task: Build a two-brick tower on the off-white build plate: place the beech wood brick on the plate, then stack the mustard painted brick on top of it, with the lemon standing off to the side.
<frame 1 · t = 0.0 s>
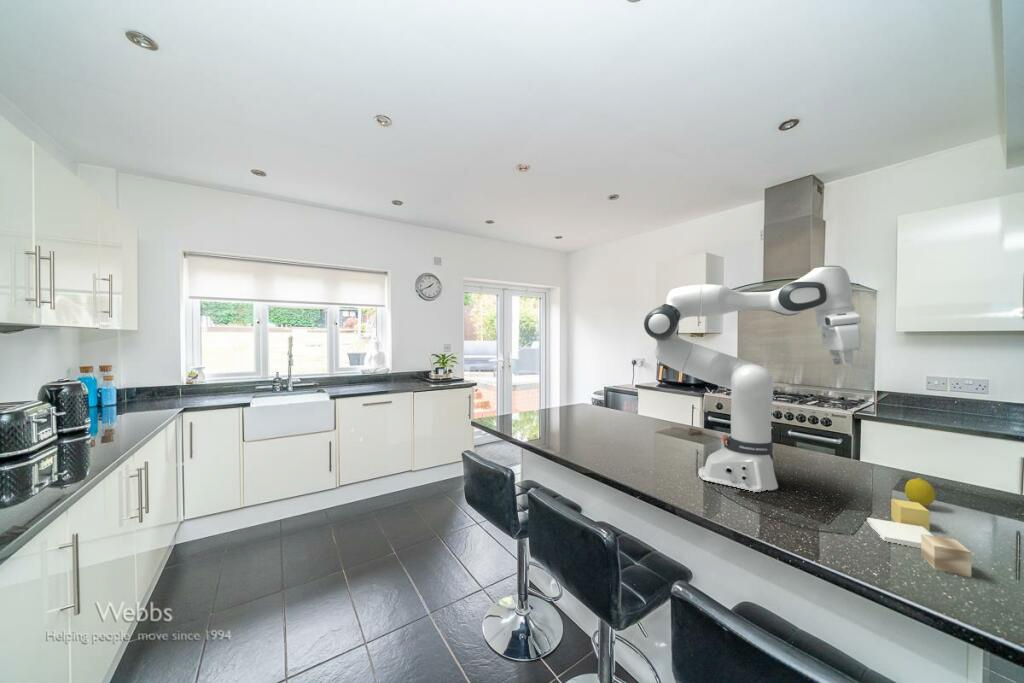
hand: (842, 365, 107), 39 cm above the worktop, tool pointing down, fingers open, 8 cm apart
beech brick: (945, 566, 73), on the worktop
mustard brick: (909, 524, 90), on the worktop
lemon: (919, 507, 99), on the worktop
build plate: (904, 536, 85), on the worktop
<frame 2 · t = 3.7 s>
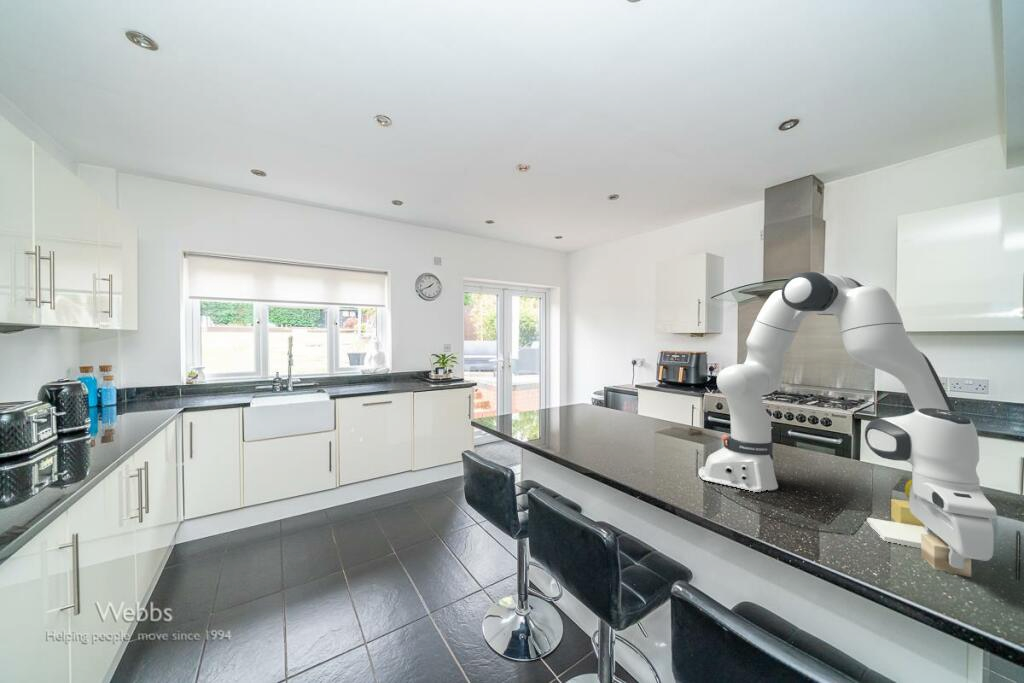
hand: (945, 557, 73), 2 cm above the worktop, tool pointing down, fingers closed on beech brick, 5 cm apart
beech brick: (945, 566, 73), on the worktop, touching gripper
everything else where it was.
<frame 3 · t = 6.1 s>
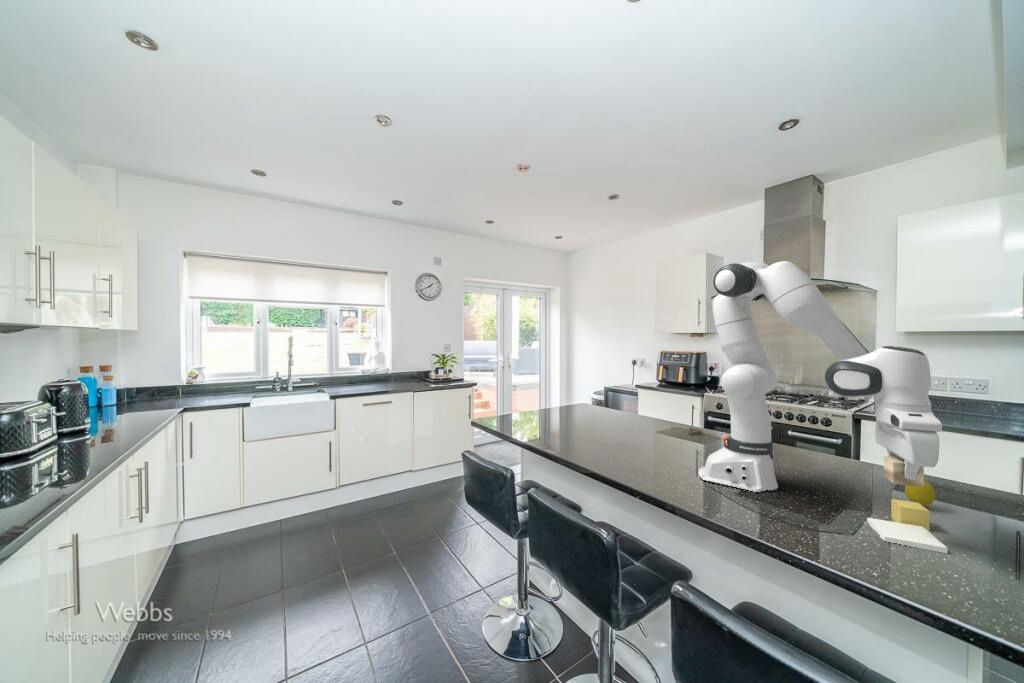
hand: (902, 473, 85), 15 cm above the worktop, tool pointing down, fingers closed on beech brick, 5 cm apart
beech brick: (903, 481, 85), point 13 cm above the worktop, touching gripper
everything else where it was.
when the fingers open (4 cm above the worktop, at t = 8.5 s): beech brick stays where it is, resting on build plate.
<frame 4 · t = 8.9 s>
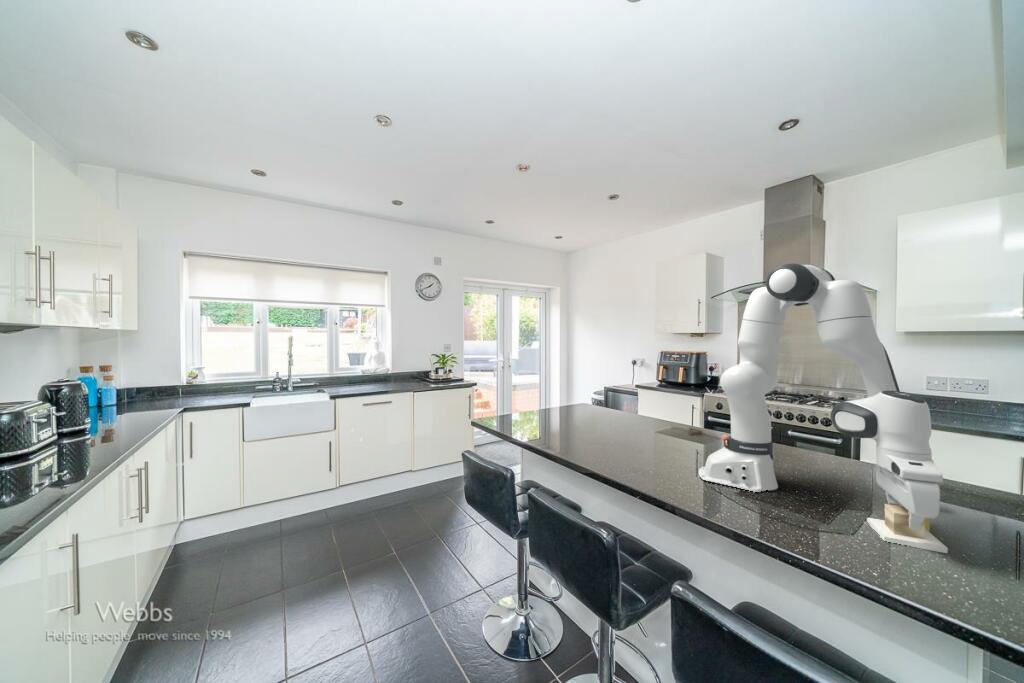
hand: (903, 519, 85), 4 cm above the worktop, tool pointing down, fingers open, 8 cm apart
beech brick: (904, 531, 85), point 1 cm above the worktop, touching build plate
everything else where it was.
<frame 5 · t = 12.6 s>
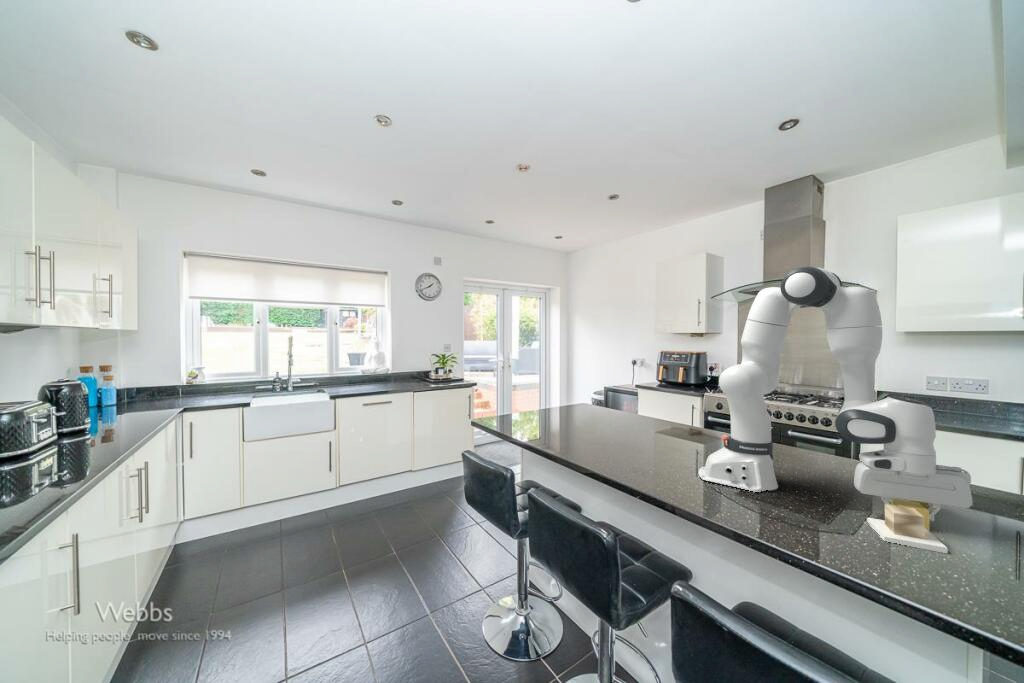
hand: (909, 516, 90), 2 cm above the worktop, tool pointing down, fingers closed on mustard brick, 5 cm apart
mustard brick: (909, 524, 90), on the worktop, touching gripper
everything else where it was.
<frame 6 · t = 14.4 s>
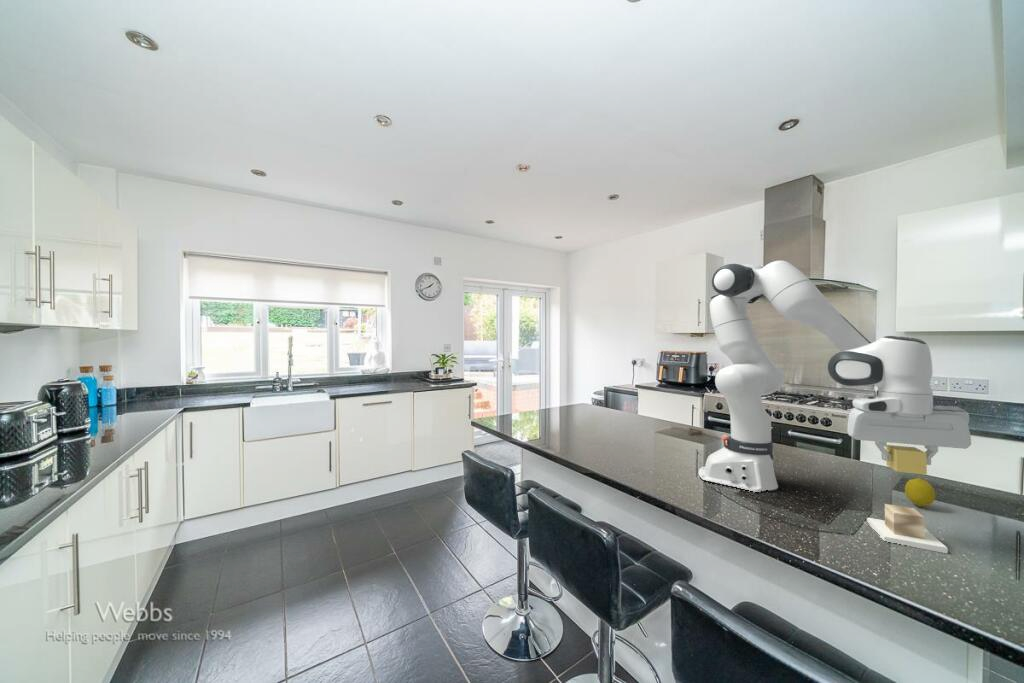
hand: (905, 462, 85), 17 cm above the worktop, tool pointing down, fingers closed on mustard brick, 5 cm apart
mustard brick: (905, 469, 85), point 15 cm above the worktop, touching gripper
everything else where it was.
when the fingers open (9 cm above the worktop, at t = 16.4 s): mustard brick stays where it is, resting on beech brick.
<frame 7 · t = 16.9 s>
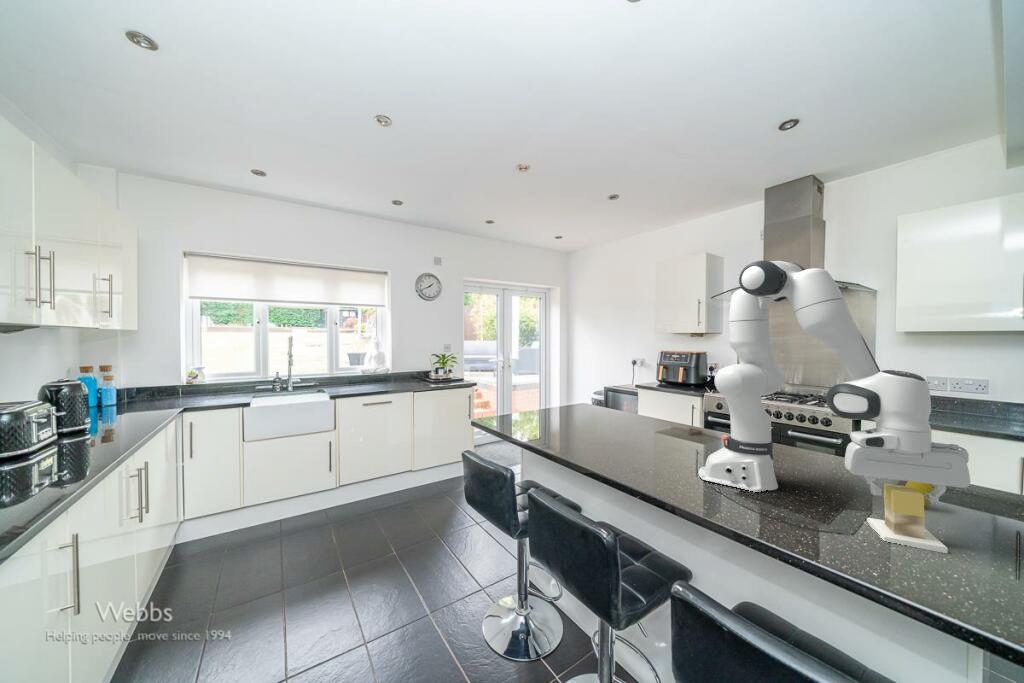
hand: (903, 498, 85), 9 cm above the worktop, tool pointing down, fingers open, 8 cm apart
beech brick: (904, 531, 85), point 1 cm above the worktop, touching build plate, mustard brick
mustard brick: (903, 510, 85), point 6 cm above the worktop, touching beech brick
everything else where it was.
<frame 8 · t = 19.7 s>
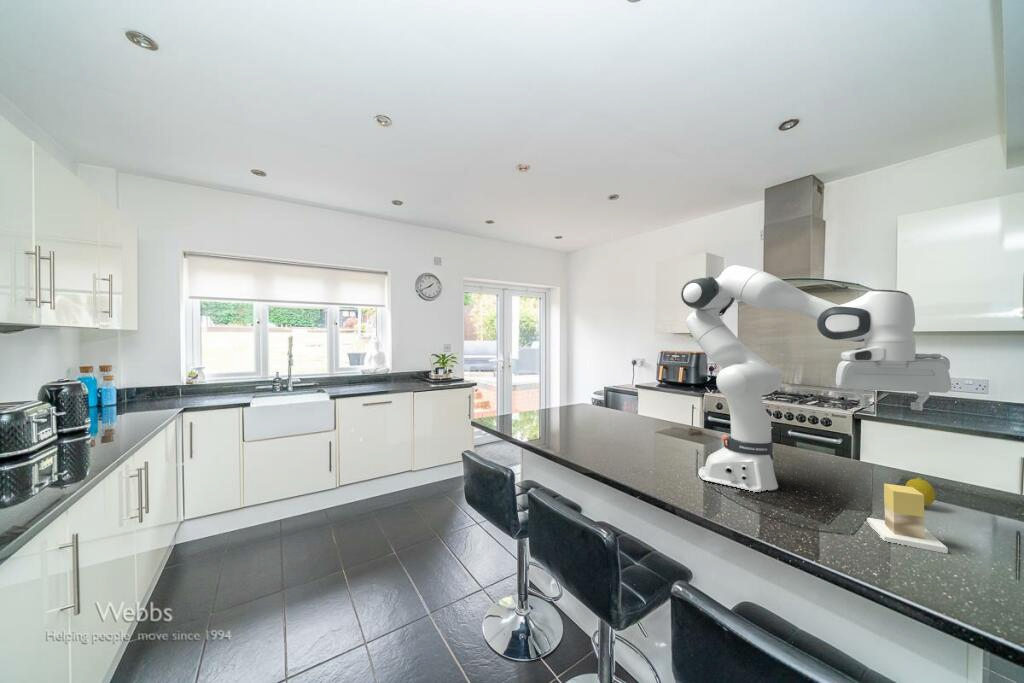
hand: (890, 408, 90), 29 cm above the worktop, tool pointing down, fingers open, 8 cm apart
nothing on the worktop moved.
at the end: beech brick 0.0 cm off-centre on the build plate, point 1.2 cm above the build plate's base; mustard brick 0.1 cm off-centre on the beech brick, point 5.0 cm above the beech brick's base; the gripper is holding nothing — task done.
